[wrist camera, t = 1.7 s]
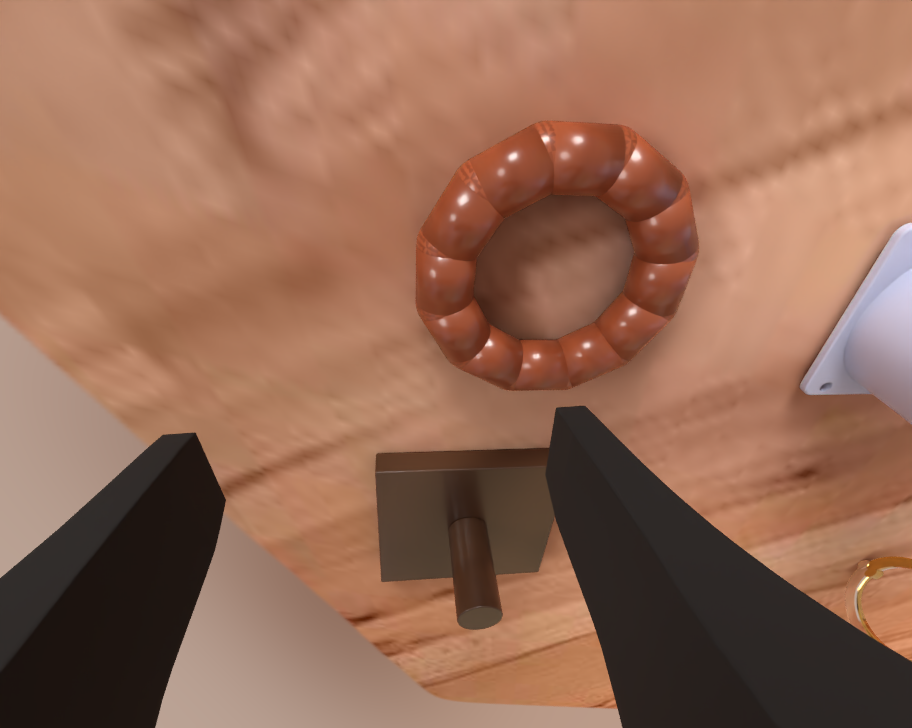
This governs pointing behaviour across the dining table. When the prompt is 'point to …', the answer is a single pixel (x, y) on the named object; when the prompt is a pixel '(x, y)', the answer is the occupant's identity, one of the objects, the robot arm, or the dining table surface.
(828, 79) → the dining table surface
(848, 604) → the ring
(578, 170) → the hoop
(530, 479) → the stand
